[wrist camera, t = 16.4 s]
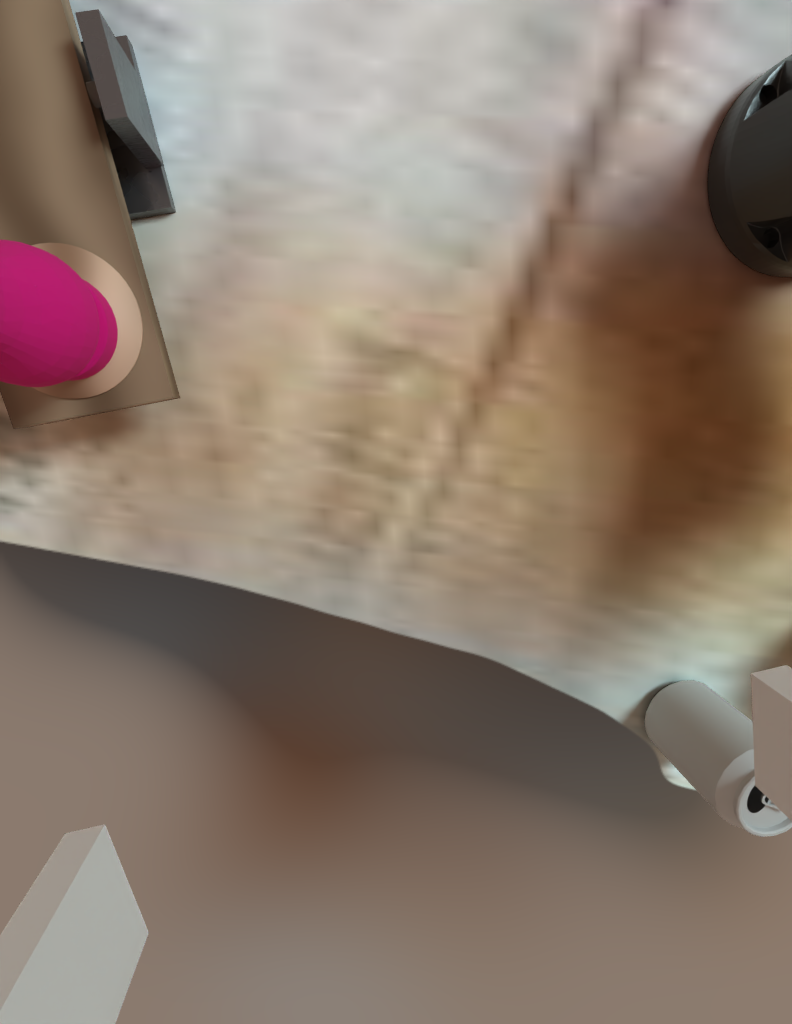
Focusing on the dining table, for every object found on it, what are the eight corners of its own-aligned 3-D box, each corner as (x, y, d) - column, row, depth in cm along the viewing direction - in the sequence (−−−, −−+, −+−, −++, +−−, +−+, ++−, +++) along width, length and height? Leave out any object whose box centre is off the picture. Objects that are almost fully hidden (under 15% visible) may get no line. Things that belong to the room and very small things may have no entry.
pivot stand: (135, 45, 34) (82, -48, 27) (178, 211, 37) (141, 166, 29) (-95, 78, 33) (-212, -10, 26) (-35, 247, 36) (-128, 210, 28)
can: (652, 670, 49) (750, 755, 38) (721, 680, 51) (838, 765, 39) (629, 740, 51) (718, 843, 39) (698, 748, 52) (803, 850, 40)
